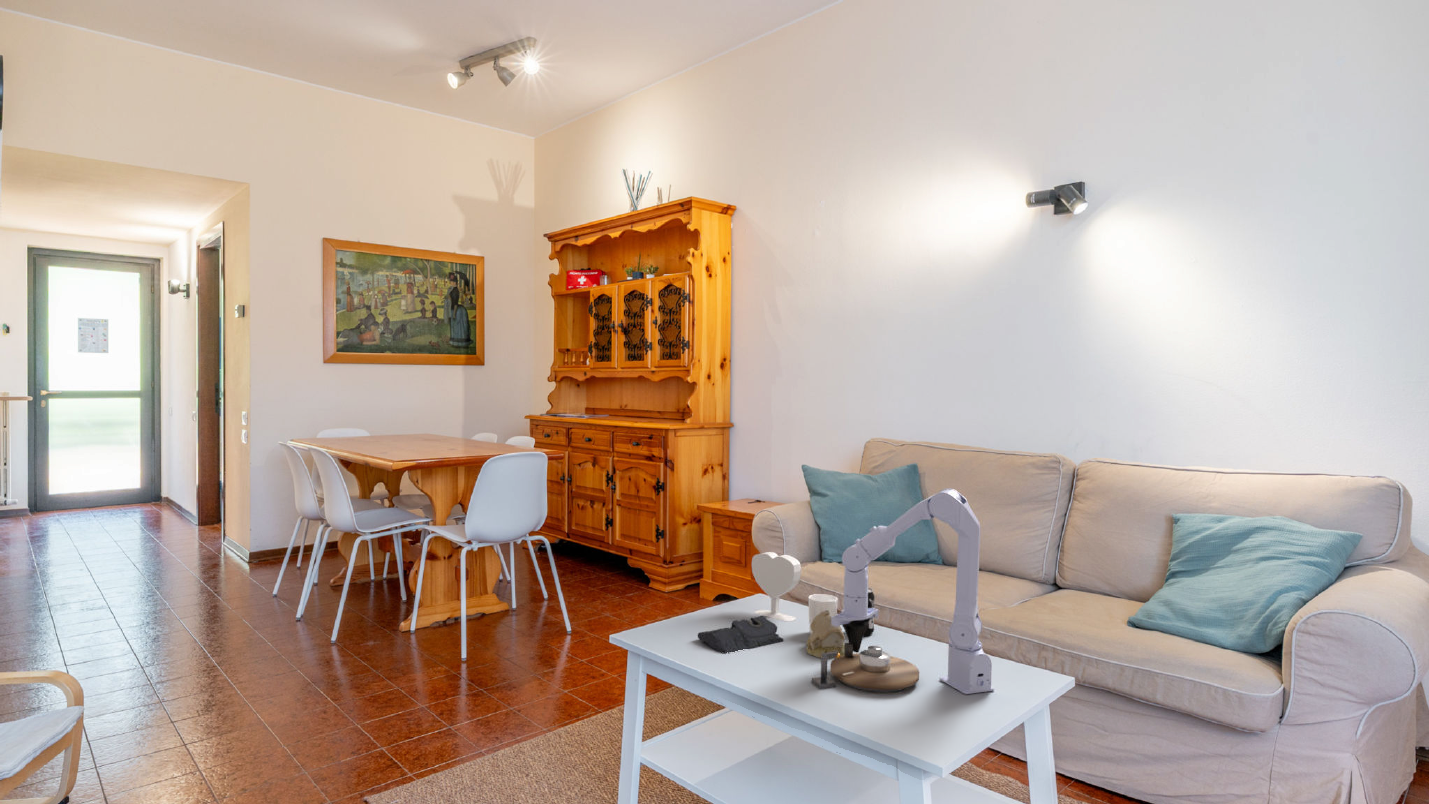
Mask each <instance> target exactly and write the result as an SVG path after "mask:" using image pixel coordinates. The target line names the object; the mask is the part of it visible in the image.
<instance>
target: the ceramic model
mask: <svg viewBox="0 0 1429 804" xmlns="http://www.w3.org/2000/svg"><path fill="white" fill-rule="evenodd" d="M811 630H812V631H813V633H812V634H810V633H809V637H808V639H807V641H806V645H807V647H806V653H807V654H808V655H810V656H814V657H816V658H819V659H821V653H829V652H837V653H839V654H840V656H843V655H844V650H845V643H846V642H844V641H845V640H846V636H845V634H844V632H843V631H842V627H841V626H840V627H836V626H832V625H831V616H830V614H829V611H828V610H825V611H822V612H821V613H820V614H819V615H817V616H816V617H815V619H814V620H813V622H812V623H811ZM831 658H832V657H828V658H827V659H831Z"/></svg>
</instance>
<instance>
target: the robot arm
mask: <svg viewBox="0 0 1429 804" xmlns="http://www.w3.org/2000/svg"><path fill="white" fill-rule="evenodd" d="M934 518H935V519H937V520H939V521H940V522H943V523H944V524H947V525H948V526H949V527H950V528H951V529H952V530H953V531H954V532H956V534H957V558H956V559H957V563H956V584H955V586H956V587H955V604H954V610H953V618H952V622H951V624H950V626H949V628H948V632H947V633H948V638H949V640H948V653H947V655H948V658H947V659H948V661H947V675H946V676H940V677H939V680H940V681H941V682H944V683H945V684H947V685H949V686H950V687H952V688H954V689H955V690H957V691H958V692H960V693H962V694H964V695H970V694H976V693H983V692H992V691H994V690H995V687H993V686H992V671H993V670H992V665H993V664H992V659H991V658H990V656H989V655H988V654H986V653H985V652H984V650H983V643H982V642H981V640H980V639H979V636H980V634H981V632H982V629H983V622H982V620H981V618H980V614H979V604H978V597H979V575H980V574H979V573H980V572H979V571H980V553H981V552H980V551H981V549H980V548H981V529H982V528H981V524H980V521H979V519H978V518H977V516H976V515H975V513H974V511H973V510H972V507H970V504H969V502H968V500H967V498H966V497H965V496H964V495H963V494H961V493H960V492H959V491H957V489H953V488H944V489H941V490H940V491H938V493H935V494H933V495H931V496H928V497H927V498H925V499H924V500H921V501H919V502H918V503H916V504H915V505H914V506H911V508H909V509H908V510H907V511H906V512H904V513H903V514H902V515H900V516H899V517H898V518H897V519H896V520H894V521H893V522H892V523H890V524H889V525H887V526H886V525H878V526H877V527H876V525H874V526H872V527H871V528H869V531H870V532H868V533H867V534H865V536H863V537H862V538H857V539H856V540H854V544H853V545H851V546H848V547H847V548H845V550H844V552H843V553H842V556H841V562H842V564H843V567H844V574H843V575H844V576H843V609H841V610H840V612H839V614H838V613H837V615H836V616H834V617H831V625H832V626H836V627H841V626H842V627H843V629H844V631H845V633H846V636H847V640H848V643H852V644H853V653H855V654H856V653H860V648H861V644H862V642H863V639H864V637H865V636H864V634H865V632H866V630H867V629H868V627H869V623H868V622H865V619H868V618H873V617H874V619H875V618H876V619H877V618H879V611H880V610H879V609H878V608H875V607H874V608H868V588H869V565H870V563H871V562H872V561H875V560H876V559H878V558H880V556H882V555H883V554H885V553H887V551H888V550H890V549H892V548H893V547H894V546H895V545H896V538H897V537H898V536H900V535H901V534H902V533H904V532H905V531H907V530H908V529H909V528H912V527H913V526H914V525H915V524H917V523H918V522H920V521H922V520H926V521H927V520H933V519H934Z"/></svg>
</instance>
